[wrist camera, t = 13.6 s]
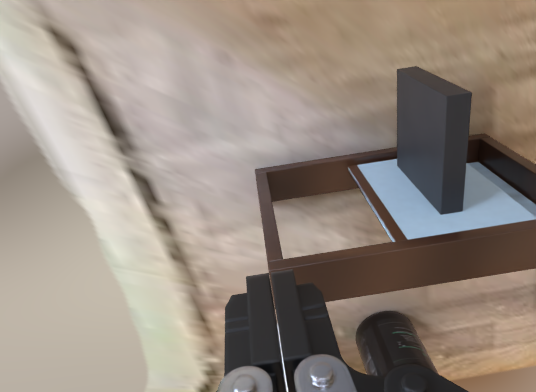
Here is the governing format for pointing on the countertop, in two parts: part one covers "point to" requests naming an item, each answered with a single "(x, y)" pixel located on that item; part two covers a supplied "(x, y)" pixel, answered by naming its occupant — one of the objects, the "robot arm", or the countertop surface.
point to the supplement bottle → (390, 344)
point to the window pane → (432, 167)
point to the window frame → (406, 251)
